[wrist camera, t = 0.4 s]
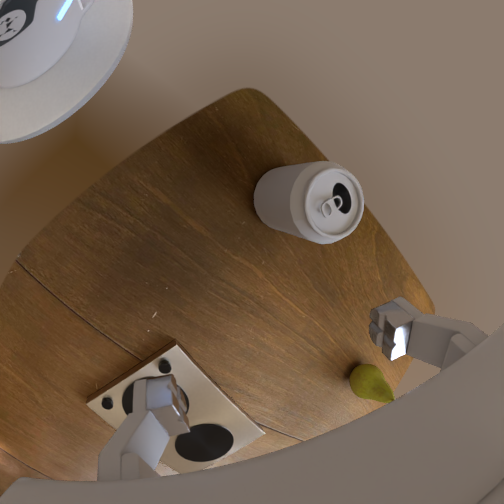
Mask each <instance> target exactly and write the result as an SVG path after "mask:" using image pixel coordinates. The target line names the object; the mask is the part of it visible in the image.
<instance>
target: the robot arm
mask: <svg viewBox="0 0 504 504" xmlns="http://www.w3.org/2000/svg"><path fill="white" fill-rule="evenodd" d="M94 1H95V0H0V88H14V87H19V86H22V85H24V84H27V83H29V82H31V81H33V80H35V79H36V78H38V77H39V76H41V75H42V74H44V73H45V72H46V71H48V70H49V69H50V68H51V67H52V66H53V65H55V64H56V63H57V62H58V61H59V60H60V58H61V57H62V56H63V55H64V54H65V53H66V51H67V50H68V49H69V47H70V46H71V44H72V43H73V41H74V39H75V37H76V35H77V33H78V30H79V27H80V23H81V20H82V18H83V16H84V15H85V13H86V12H87V11H88V10H89V9H90V7H91V6H92V5H93V3H94ZM370 318H371V319H372V322H371V323H370V325H369V334H370V338H371V340H372V341H373V343H374V344H375V345H376V346H379V347H382V353H383V354H384V355H385V356H386V357H387V358H388V359H389V360H390V361H392V360H394V359H396V358H398V357H400V356H402V355H404V354H406V353H407V355H409V356H411V357H414V358H416V359H419V360H422V361H424V362H426V363H429V364H432V365H434V366H437V367H440V368H441V370H440V373H438V374H437V375H435V376H434V377H432V378H431V379H429V380H428V381H426V382H424V383H423V384H421V385H419V386H418V387H416V388H415V389H413V390H411V391H409V392H408V393H406V394H404V395H402V396H401V397H399V398H397V399H395V400H393V401H392V402H390V403H388V404H386V405H384V406H382V407H380V408H378V409H377V410H375V411H373V412H371V413H369V414H367V415H365V416H363V417H360V418H358V419H356V420H354V421H352V422H350V423H348V424H345V425H343V426H341V427H339V428H336V429H334V430H332V431H329V432H327V433H324V434H322V435H319V436H317V437H314V438H312V439H309V440H306V441H304V442H301V443H298V444H295V445H293V446H290V447H287V448H284V449H281V450H278V451H275V452H271V453H268V454H265V455H262V456H258V457H255V458H251V459H247V460H244V461H240V462H236V463H232V464H228V465H224V466H219V467H215V468H210V469H205V470H200V471H194V472H189V473H183V474H177V475H170V476H162V477H161V476H160V475H159V474H158V473H157V472H156V471H154V470H155V468H156V466H157V464H158V462H159V460H160V458H161V456H162V453H163V451H164V449H165V447H166V445H167V443H168V441H169V439H170V436H174V435H179V434H184V433H188V432H190V426H189V419H188V417H187V415H186V414H185V412H186V411H187V406H186V401H185V397H184V395H183V392H182V390H181V388H180V387H178V386H177V383H176V379H175V377H174V375H173V374H167V375H162V376H157V377H151V378H147V379H142V380H136V381H135V383H134V390H133V413H129V414H128V416H127V417H126V418H125V420H124V421H123V422H122V424H121V425H120V426H119V428H118V429H117V431H116V432H115V433H114V435H113V436H112V437H111V439H110V440H109V441H108V443H107V444H106V445H105V447H104V448H103V449H102V451H101V452H100V454H99V458H98V477H97V481H65V480H49V479H39V478H31V477H21V478H18V479H17V480H16V481H15V482H14V483H13V484H12V485H11V486H10V487H9V488H8V489H7V490H6V491H5V492H4V493H3V495H2V496H1V497H0V504H504V324H503V325H502V326H501V327H499V328H498V329H497V330H496V331H495V332H493V333H492V334H491V335H490V336H488V335H486V334H485V333H484V332H483V331H481V330H480V329H479V328H478V327H476V326H475V325H474V324H472V323H470V322H465V321H460V320H455V319H451V318H446V317H441V316H437V315H432V314H425V315H424V314H423V313H422V312H420V311H419V310H418V309H417V308H415V307H414V306H413V305H412V304H410V303H409V302H408V301H407V300H405V299H404V298H403V297H398V298H396V299H394V300H391V301H390V302H387V303H385V304H383V305H380V306H378V307H376V308H373V309H371V311H370Z"/></svg>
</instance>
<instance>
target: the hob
mask: <svg viewBox="0 0 504 504" xmlns="http://www.w3.org/2000/svg"><path fill="white" fill-rule="evenodd" d="M167 374H173V375H174V377H175V379H176V383H177V386H178V387H180V388H181V390H182V392H183V395H184V397H185V401H186V406H187V411H186V412H185V414H186V415H187V417H188V419H189V426H190V432H188V433H184V434H179V435H174V436H170V439H169V441H168V443H167V445H166V447H165V449H164V451H163V453H162V456H161V458H160V460H159V461H161V462H162V463H164V464H165V465H167V466H169V467H170V468H172V469H174V470H175V471H177V472H178V473H180V474H183V473H189V472H194V471H200V470H203V469H205V468H207V467H208V466H210V465H212V464H214V463H216V462H218V461H220V460H221V459H223V458H225V457H227V456H229V455H230V454H232V453H234V452H236V451H237V450H239V449H241V448H242V447H244V446H246V445H248V444H249V443H251V442H252V441H254V440H256V439H257V438H259V437H260V436H262V435H264V434H265V432H264V431H263V429H262V427H260V426H259V425H258V424H257V423H256V422H255V421H254V420H253V419H252V418H251V417H250V416H249V415H248V414H247V413H245V412H244V411H243V410H242V409H241V408H240V407H239V406H238V405H237V404H236V403H235V402H234V401H233V400H232V399H231V398H230V397H229V396H228V395H227V394H226V393H225V392H224V391H223V390H222V389H221V388H220V387H219V386H218V385H217V384H216V383H215V382H214V381H213V380H212V378H211V377H210V376H209V375H208V374H207V373H206V372H205V371H204V370H203V369H202V368H201V367H200V366H199V365H198V364H197V362H196V361H195V360H194V359H193V358H192V357H191V356H190V355H189V354H188V353H187V351H186V350H185V349H184V348H183V347H182V346H181V345H180V343H179V342H178V341H177V340H176V339H175V340H174V341H172V342H171V343H169V344H168V345H166V346H165V347H163V348H162V349H160V350H159V351H158V352H156V353H155V354H153V355H152V356H150V357H149V358H147V359H146V360H144V361H143V362H141V363H140V364H138V365H137V366H135V367H134V368H132V369H131V370H129V371H128V372H126V373H125V374H123V375H122V376H120V377H118V378H117V379H115V380H114V381H112V382H111V383H109V384H108V385H106V386H105V387H103V388H102V389H100V390H99V391H97V392H95V393H94V394H92V395H91V396H89V397H88V398H87V401H86V405H87V406H89V407H90V408H91V409H92V410H93V411H94V412H95V413H97V414H98V415H99V416H100V417H101V418H102V419H104V420H105V421H106V422H107V423H109V424H110V425H111V426H112V427H113V428H115V429H116V430H117V429H118V428H119V426H120V425H121V424H122V422H123V421H124V420H125V418H126V417H127V416H128V414H129V413H133V390H134V383H135V381H136V380H142V379H147V378H151V377H157V376H162V375H167Z"/></svg>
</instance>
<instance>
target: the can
mask: <svg viewBox="0 0 504 504" xmlns="http://www.w3.org/2000/svg"><path fill="white" fill-rule="evenodd" d="M254 206H255V209H256V212H257V215H258V216H259V217H260V219H261V220H262V222H263V223H265V224H266V225H267V226H269V227H270V228H273V229H276V230H280V231H283V232H286V233H289V234H292V235H295V236H298V237H301V238H304V239H307V240H310V241H313V242H316V243H319V244H327V243H333V242H335V241H338V240H340V239H342V238H343V237H346V236H348V235H349V234H350V233H351V232H352V231H353V230H355V228H356V227H357V225H358V224H359V222H360V220H361V217H362V213H363V210H364V197H363V192H362V188H361V186H360V185H359V183H358V181H357V179H356V178H355V177H354V176H353V175H352V174H351V173H350V172H348V171H347V170H346V169H345V168H344V167H342V166H340V165H338V164H336V163H334V162H328V161H318V162H311V163H304V164H297V165H290V166H284V167H278V168H275V169H272V170H270V171H268V172H267V173H266V174H264V175H263V176H262V177H261V179H260V180H259V182H258V183H257V185H256V189H255V192H254Z"/></svg>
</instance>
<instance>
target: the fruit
mask: <svg viewBox="0 0 504 504" xmlns="http://www.w3.org/2000/svg"><path fill="white" fill-rule="evenodd" d="M350 386H351V389H352V391H353V392H354V394H355V395H357V396H358V397H360V398H363V399H372V400H376V401H379V402H383V403H390V402H392V401H393V400H395V397H394V394H393V391H392V389H391V388H390V386H389V385H388V383H387V382H386V381H385V378H384V376H383V373H382V372H381V370H380V369H379V368H377V367H376V366H374V365H371V364H363V365H359V366H357V367H356V368H355V369H354V370H353V371H352V372H351V375H350Z"/></svg>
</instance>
